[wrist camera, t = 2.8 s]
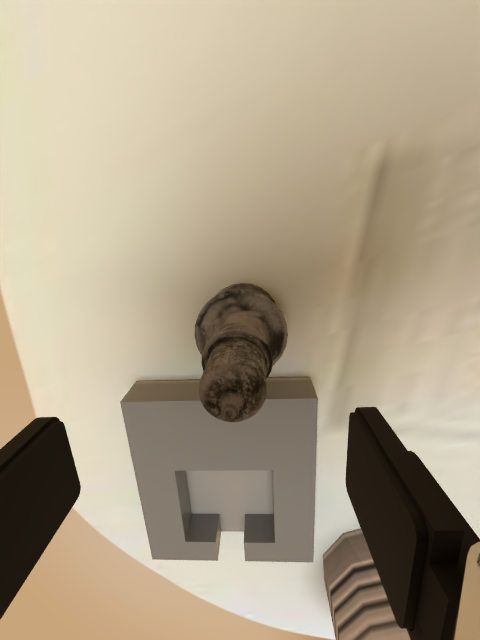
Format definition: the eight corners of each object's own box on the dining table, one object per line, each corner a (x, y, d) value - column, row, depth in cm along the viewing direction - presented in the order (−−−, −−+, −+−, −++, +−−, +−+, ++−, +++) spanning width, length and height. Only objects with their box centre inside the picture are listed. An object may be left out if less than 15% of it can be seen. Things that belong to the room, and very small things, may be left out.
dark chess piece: (193, 292, 22) (122, 367, 10) (270, 269, 21) (288, 322, 9) (218, 362, 23) (181, 494, 12) (291, 343, 22) (327, 466, 11)
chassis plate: (136, 381, 24) (120, 402, 21) (310, 376, 23) (317, 398, 20) (162, 526, 29) (152, 559, 26) (307, 527, 28) (313, 562, 25)
